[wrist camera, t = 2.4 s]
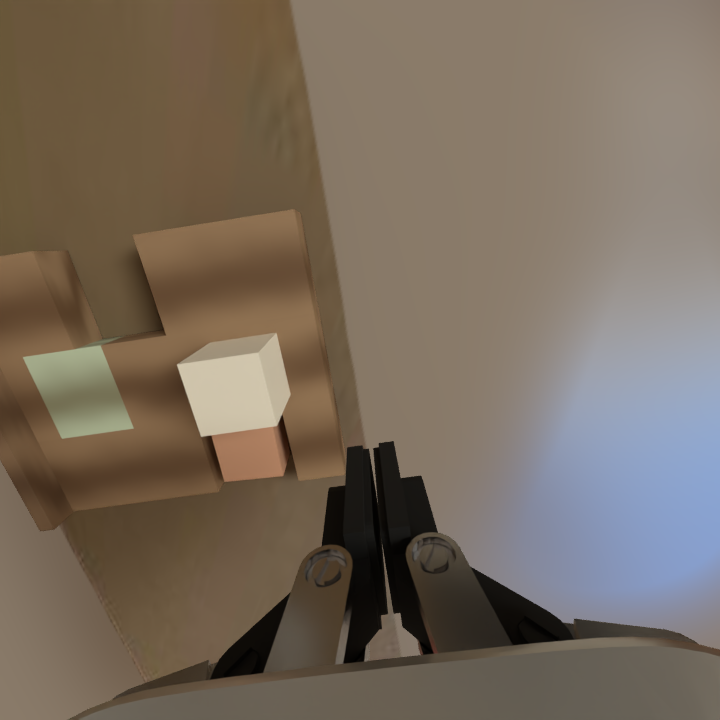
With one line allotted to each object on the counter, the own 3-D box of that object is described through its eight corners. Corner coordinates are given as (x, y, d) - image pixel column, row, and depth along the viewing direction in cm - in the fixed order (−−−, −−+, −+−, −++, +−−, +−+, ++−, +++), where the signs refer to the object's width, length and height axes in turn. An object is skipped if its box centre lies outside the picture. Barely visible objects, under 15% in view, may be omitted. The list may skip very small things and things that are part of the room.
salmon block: (225, 409, 31) (209, 429, 27) (280, 403, 31) (271, 423, 27) (237, 457, 32) (224, 481, 29) (290, 452, 32) (283, 476, 29)
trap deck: (-23, 265, 26) (-107, 269, 21) (300, 213, 25) (288, 205, 21) (85, 490, 33) (40, 531, 28) (345, 454, 32) (344, 490, 27)
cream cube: (210, 342, 25) (176, 364, 21) (276, 332, 25) (258, 352, 20) (228, 403, 27) (201, 436, 22) (290, 394, 27) (277, 426, 22)
